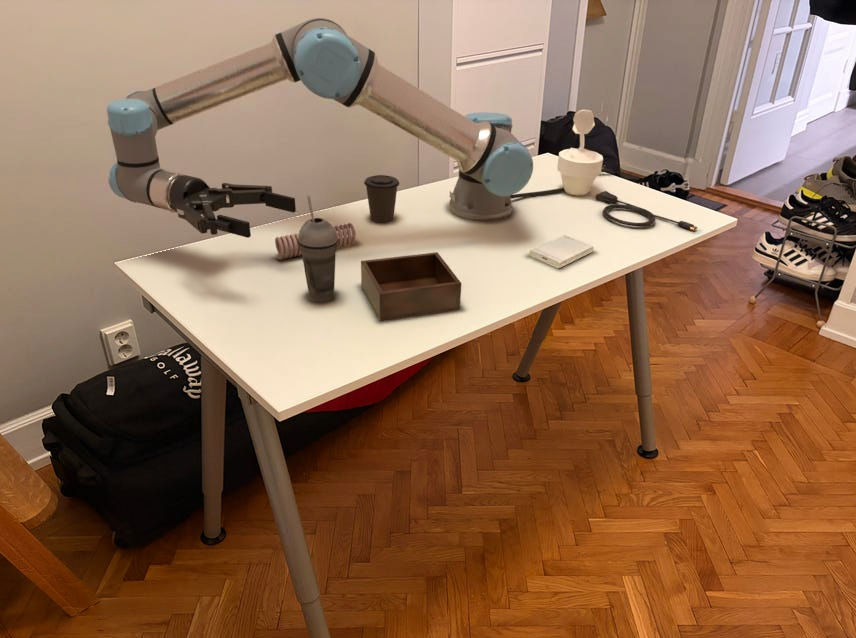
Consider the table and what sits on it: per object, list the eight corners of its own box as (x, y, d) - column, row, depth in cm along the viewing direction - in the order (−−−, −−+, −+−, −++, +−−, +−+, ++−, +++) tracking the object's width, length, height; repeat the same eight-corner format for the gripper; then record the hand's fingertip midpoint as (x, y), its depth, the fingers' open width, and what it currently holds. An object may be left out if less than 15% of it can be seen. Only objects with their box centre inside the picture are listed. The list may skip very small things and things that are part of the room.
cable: (666, 244, 166) (667, 238, 165) (570, 207, 182) (571, 201, 181) (696, 230, 174) (698, 224, 173) (603, 195, 190) (604, 190, 189)
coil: (279, 244, 145) (360, 228, 153) (270, 233, 148) (350, 218, 156) (280, 264, 148) (359, 247, 156) (271, 253, 151) (350, 237, 159)
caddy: (436, 277, 146) (437, 252, 143) (459, 309, 136) (461, 283, 133) (361, 286, 141) (360, 260, 138) (379, 320, 131) (379, 293, 128)
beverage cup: (337, 306, 134) (332, 204, 123) (298, 304, 134) (289, 202, 123) (343, 288, 140) (339, 189, 129) (306, 286, 140) (298, 187, 129)
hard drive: (564, 234, 164) (530, 249, 156) (593, 246, 159) (560, 262, 151) (563, 241, 165) (529, 256, 157) (592, 252, 160) (559, 269, 152)
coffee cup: (373, 228, 165) (372, 186, 159) (359, 215, 170) (358, 174, 165) (405, 222, 168) (405, 181, 163) (390, 210, 174) (390, 169, 168)
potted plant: (592, 203, 185) (609, 103, 171) (549, 195, 188) (561, 96, 174) (602, 187, 195) (618, 92, 181) (560, 180, 198) (573, 85, 184)
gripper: (226, 192, 151) (312, 214, 144) (136, 234, 132) (230, 261, 125) (222, 157, 147) (310, 177, 140) (128, 195, 127) (224, 221, 121)
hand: (272, 217), depth 133 cm, fingers open, 13 cm apart
